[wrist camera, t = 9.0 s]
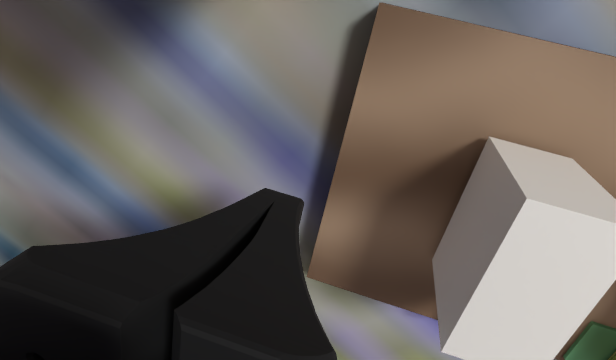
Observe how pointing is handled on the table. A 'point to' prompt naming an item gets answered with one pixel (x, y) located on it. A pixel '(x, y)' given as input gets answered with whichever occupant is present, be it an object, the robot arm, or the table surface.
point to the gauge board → (454, 150)
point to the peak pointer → (613, 356)
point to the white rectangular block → (523, 255)
